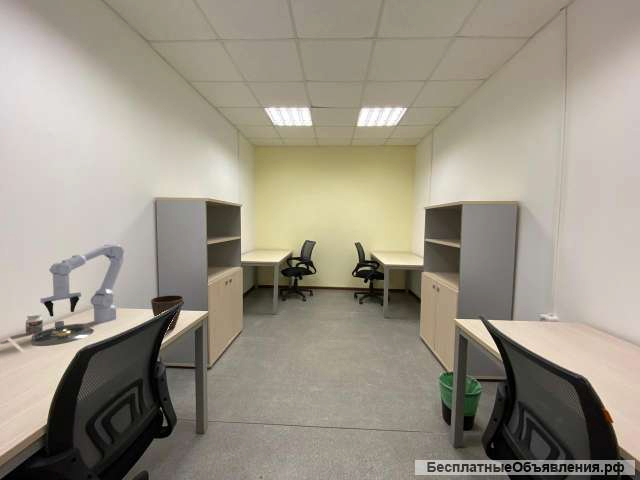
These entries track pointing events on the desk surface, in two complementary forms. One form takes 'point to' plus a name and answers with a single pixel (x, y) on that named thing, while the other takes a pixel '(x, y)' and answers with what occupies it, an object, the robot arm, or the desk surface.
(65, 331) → the dark grey round tray
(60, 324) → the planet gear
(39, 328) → the pill bottle
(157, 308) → the plant pot
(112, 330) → the desk surface
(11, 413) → the desk surface
